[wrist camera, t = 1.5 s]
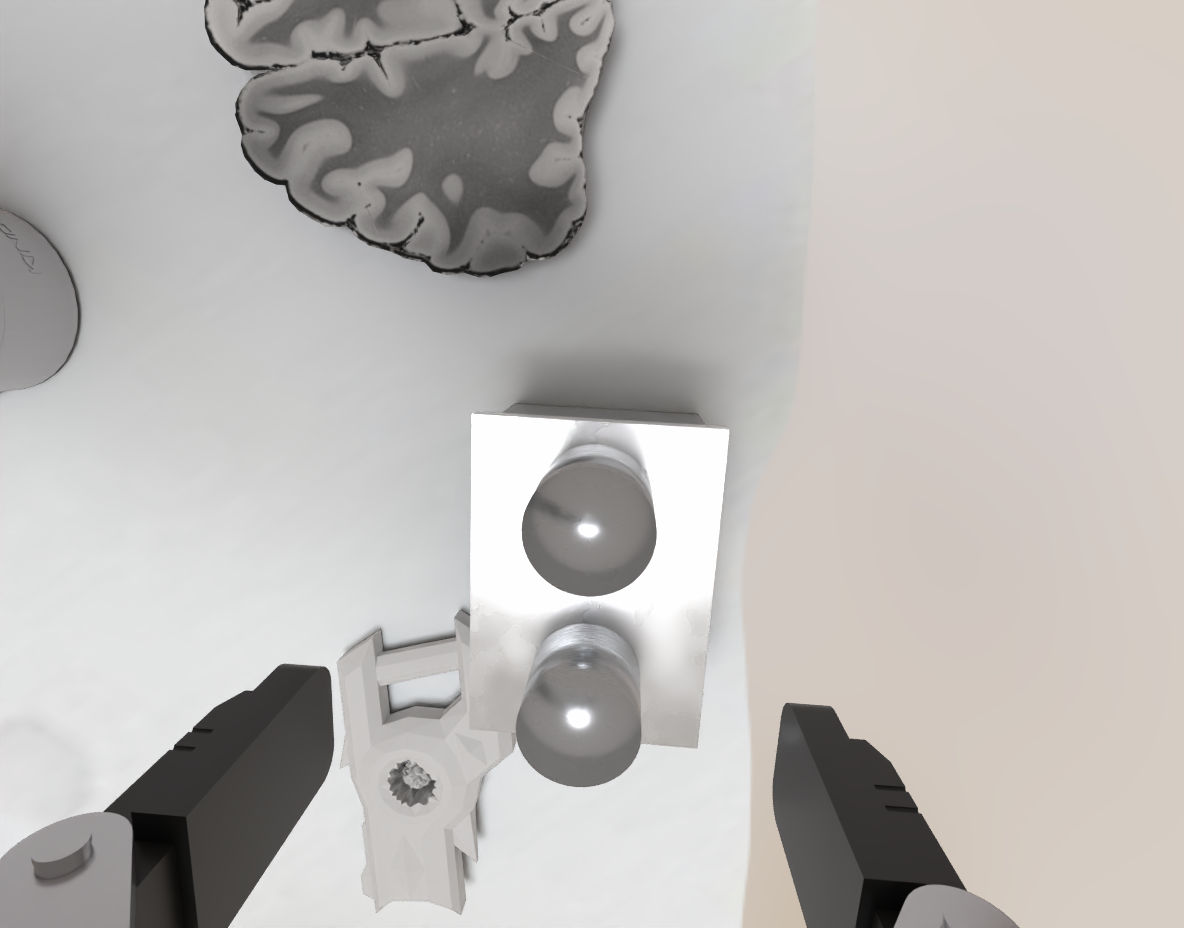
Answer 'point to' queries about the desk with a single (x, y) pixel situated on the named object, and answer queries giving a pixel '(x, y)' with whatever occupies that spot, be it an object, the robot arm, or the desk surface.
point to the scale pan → (637, 612)
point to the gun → (415, 770)
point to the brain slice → (423, 118)
